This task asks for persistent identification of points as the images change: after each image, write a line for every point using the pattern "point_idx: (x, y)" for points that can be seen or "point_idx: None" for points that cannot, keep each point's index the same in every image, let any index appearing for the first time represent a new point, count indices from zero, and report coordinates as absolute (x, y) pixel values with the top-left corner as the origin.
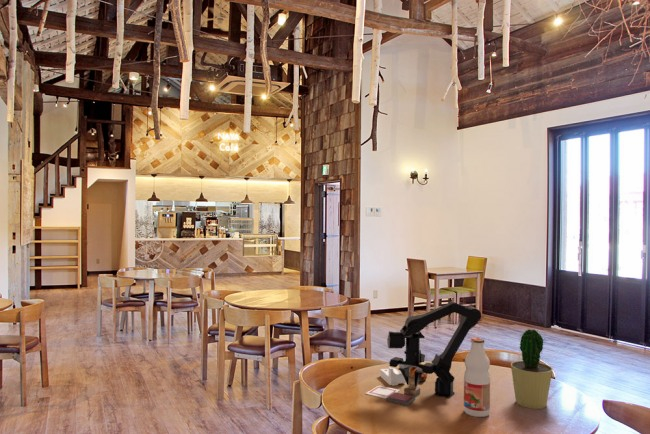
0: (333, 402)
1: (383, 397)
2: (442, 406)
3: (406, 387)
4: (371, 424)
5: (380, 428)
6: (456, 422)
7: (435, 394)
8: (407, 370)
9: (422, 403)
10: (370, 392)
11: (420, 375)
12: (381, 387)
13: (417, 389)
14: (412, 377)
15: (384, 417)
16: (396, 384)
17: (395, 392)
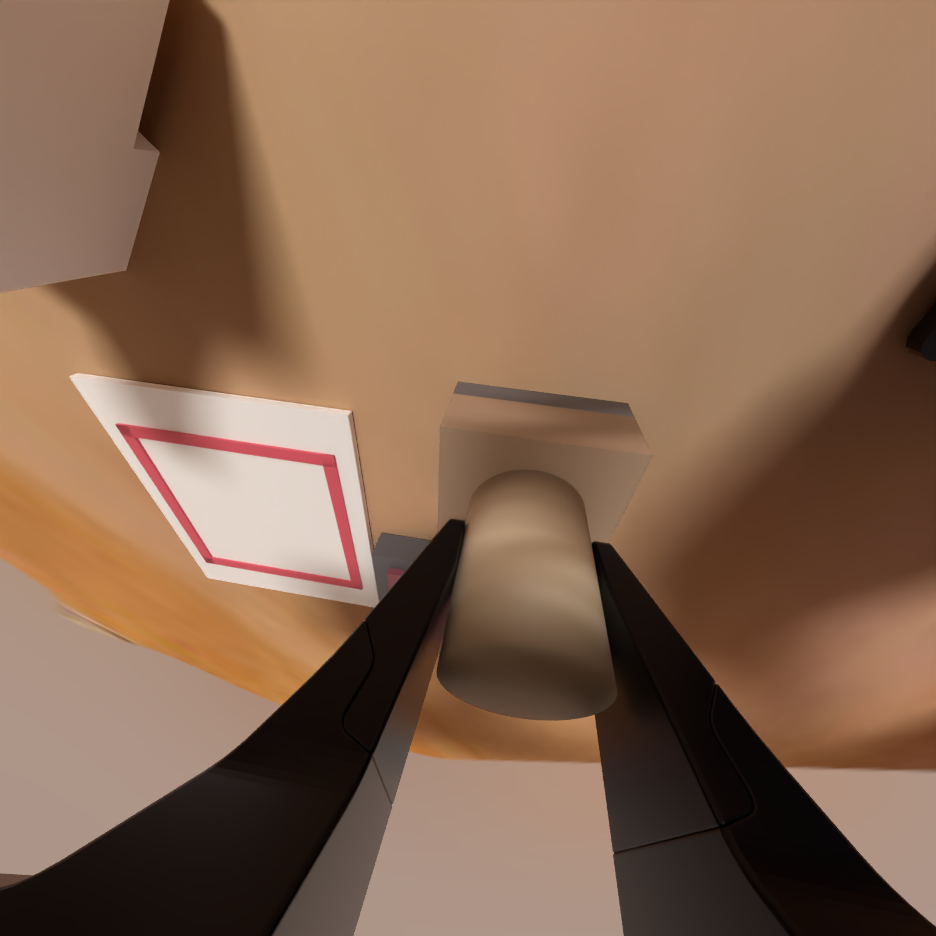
0: (218, 667)
1: (349, 602)
2: (871, 618)
3: (445, 517)
4: (465, 749)
5: (505, 760)
6: (885, 744)
7: (921, 356)
8: (347, 872)
9: (664, 606)
10: (217, 564)
11: (777, 816)
12: (159, 438)
13: (611, 534)
14: (524, 682)
15: (484, 725)
16: (140, 183)
17: (389, 577)
